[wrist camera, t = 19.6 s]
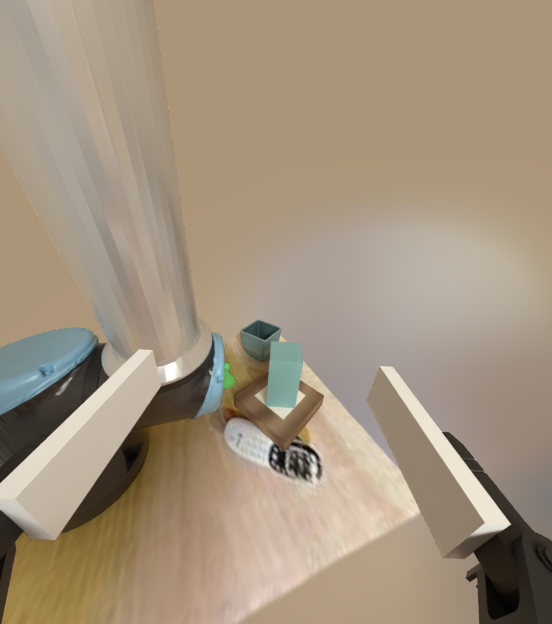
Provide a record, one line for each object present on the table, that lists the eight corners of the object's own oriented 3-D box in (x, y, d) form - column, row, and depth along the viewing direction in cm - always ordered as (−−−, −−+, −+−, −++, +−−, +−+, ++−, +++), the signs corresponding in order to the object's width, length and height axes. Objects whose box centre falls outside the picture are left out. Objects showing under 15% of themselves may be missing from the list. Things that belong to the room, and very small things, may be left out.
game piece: (214, 381, 50) (212, 362, 48) (229, 373, 53) (228, 355, 51) (223, 391, 48) (222, 372, 45) (238, 383, 50) (238, 364, 48)
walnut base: (234, 405, 44) (234, 395, 43) (275, 374, 54) (276, 364, 53) (284, 452, 37) (285, 441, 35) (321, 405, 46) (324, 395, 45)
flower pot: (239, 356, 60) (239, 330, 56) (257, 342, 67) (258, 318, 63) (263, 368, 56) (265, 341, 52) (279, 352, 63) (282, 327, 59)
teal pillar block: (266, 406, 41) (269, 359, 36) (267, 384, 47) (271, 341, 41) (295, 408, 41) (303, 362, 36) (293, 386, 47) (300, 343, 41)
